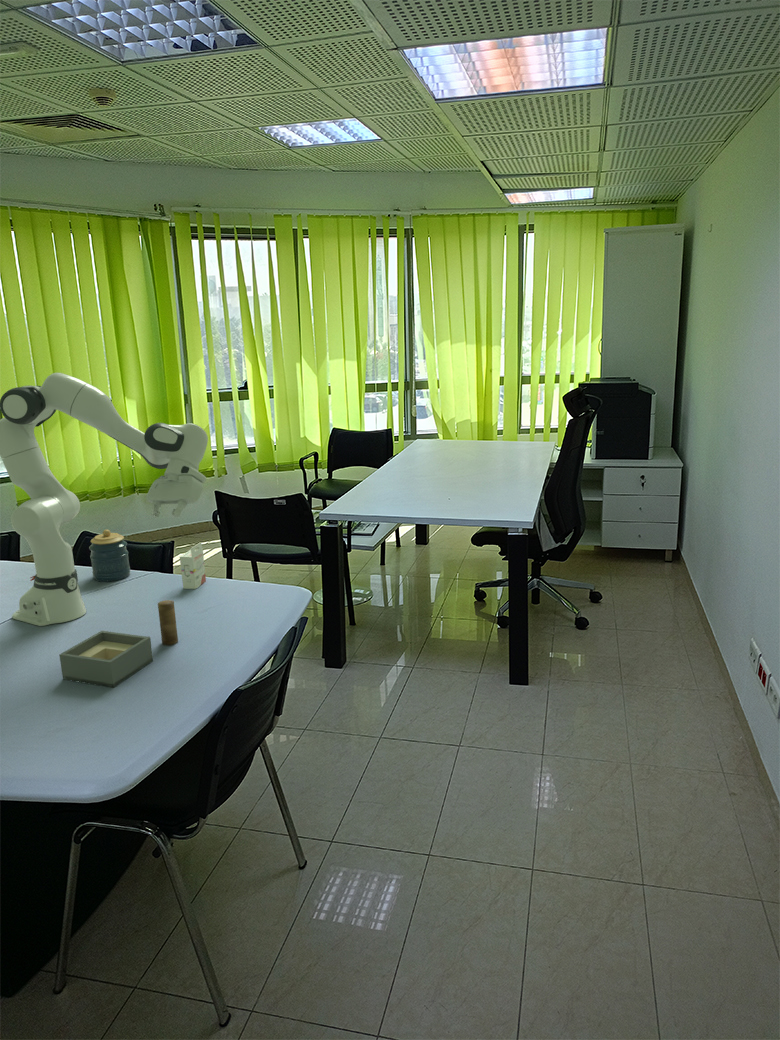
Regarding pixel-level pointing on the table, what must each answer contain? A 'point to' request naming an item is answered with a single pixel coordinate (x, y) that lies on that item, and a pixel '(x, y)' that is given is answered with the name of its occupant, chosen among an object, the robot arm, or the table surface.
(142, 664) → the bore box
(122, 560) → the canister
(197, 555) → the ink cartridge box
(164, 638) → the peg
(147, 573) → the table surface
